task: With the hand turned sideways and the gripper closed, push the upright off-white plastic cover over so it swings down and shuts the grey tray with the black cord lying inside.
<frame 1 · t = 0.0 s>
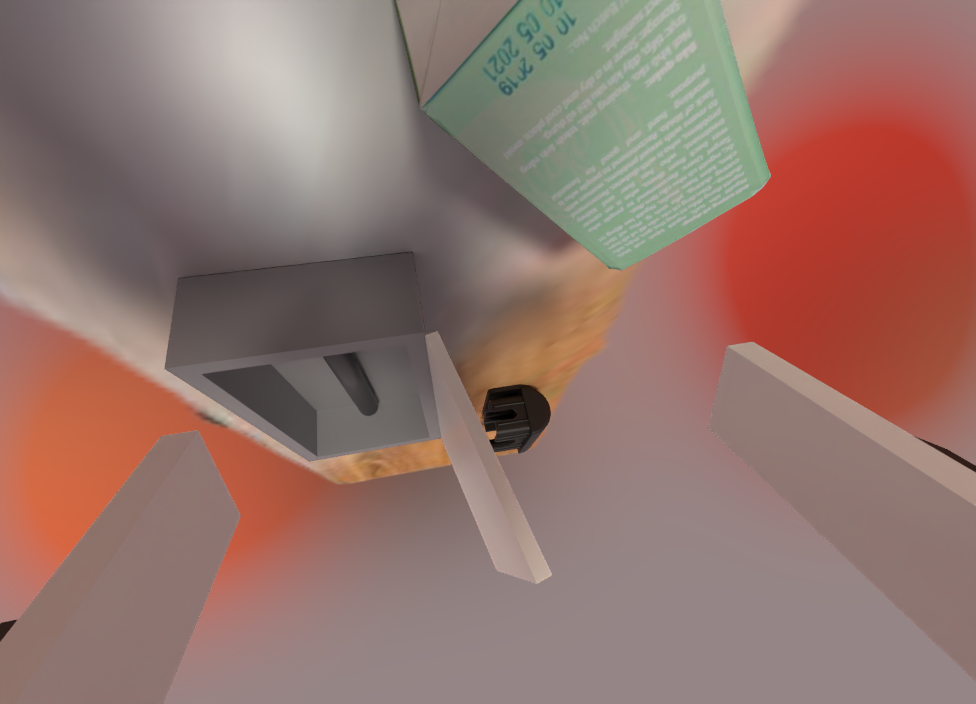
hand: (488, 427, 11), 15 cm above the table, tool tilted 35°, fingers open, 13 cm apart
cover: (474, 480, 33), point 13 cm above the table, hinge at 104.0°
grey tray: (346, 350, 37), on the table
box: (571, 36, 18), on the table
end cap: (509, 395, 57), on the table
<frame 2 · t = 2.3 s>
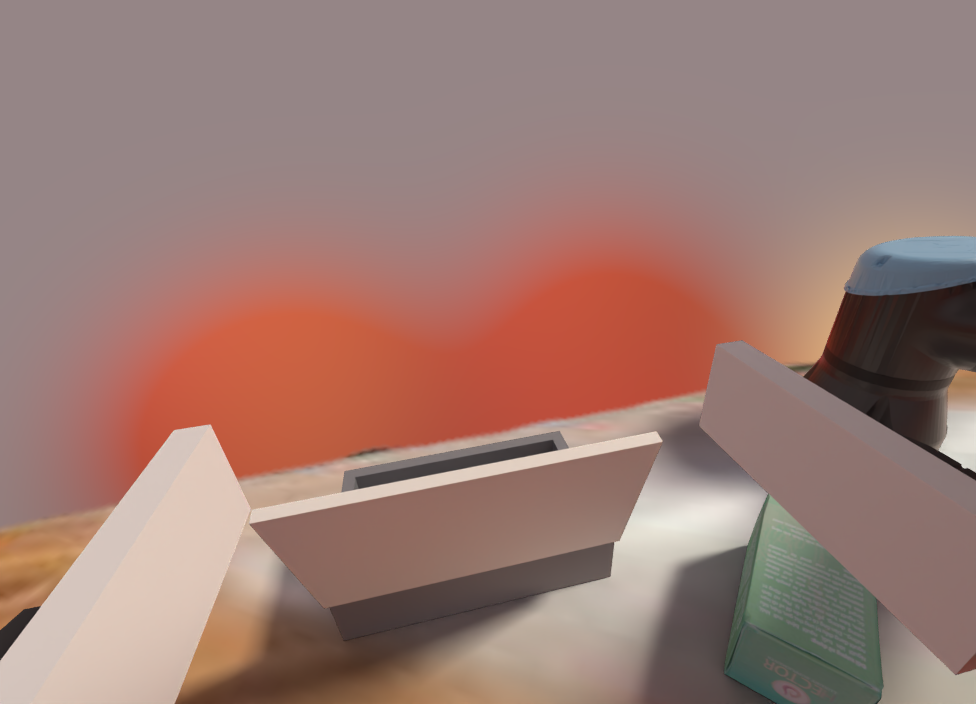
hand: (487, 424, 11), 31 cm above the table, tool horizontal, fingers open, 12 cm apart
cover: (474, 528, 29), point 13 cm above the table, hinge at 104.0°
grey tray: (470, 539, 43), on the table
box: (785, 629, 34), on the table
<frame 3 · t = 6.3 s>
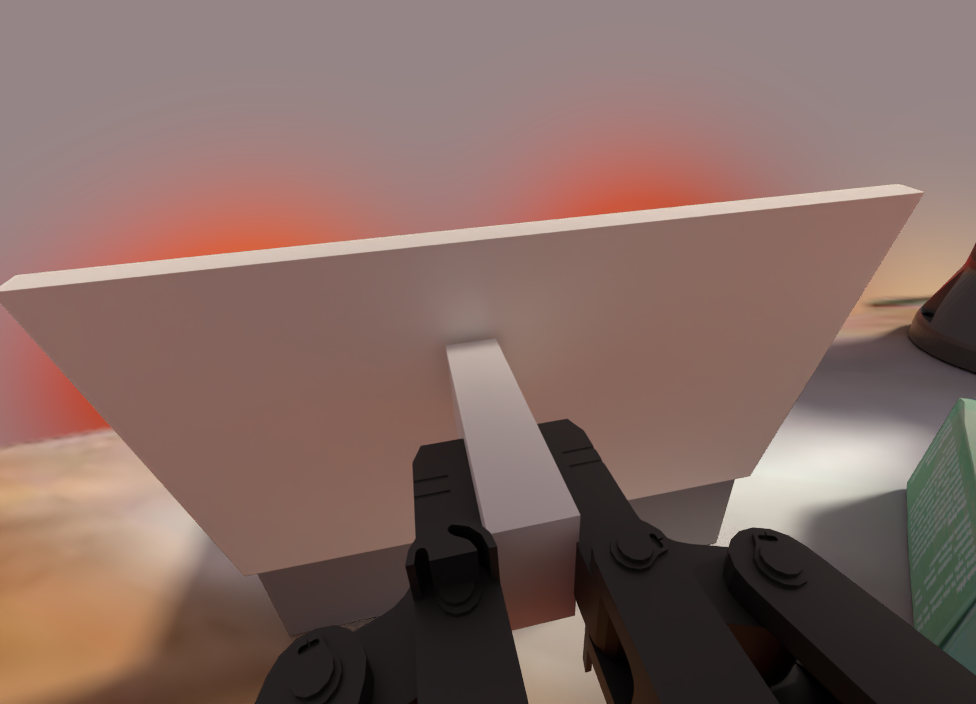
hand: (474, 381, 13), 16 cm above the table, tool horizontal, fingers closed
cover: (517, 412, 15), point 13 cm above the table, hinge at 100.7°, touching gripper
grey tray: (493, 491, 29), on the table
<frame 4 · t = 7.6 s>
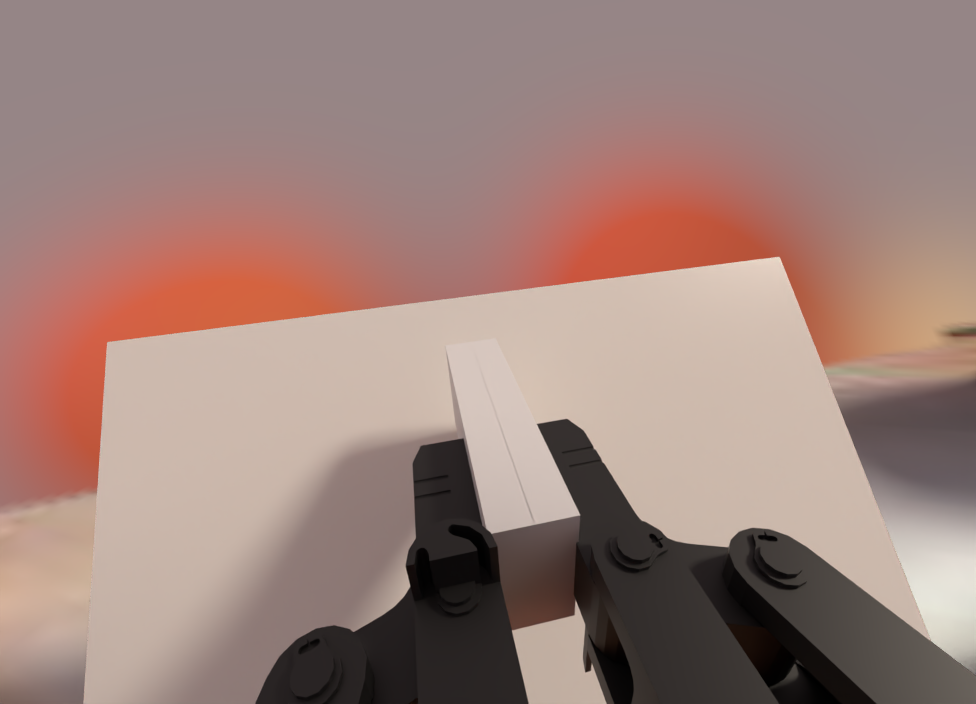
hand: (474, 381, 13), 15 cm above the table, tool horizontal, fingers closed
cover: (513, 499, 13), point 12 cm above the table, hinge at 46.4°, touching gripper
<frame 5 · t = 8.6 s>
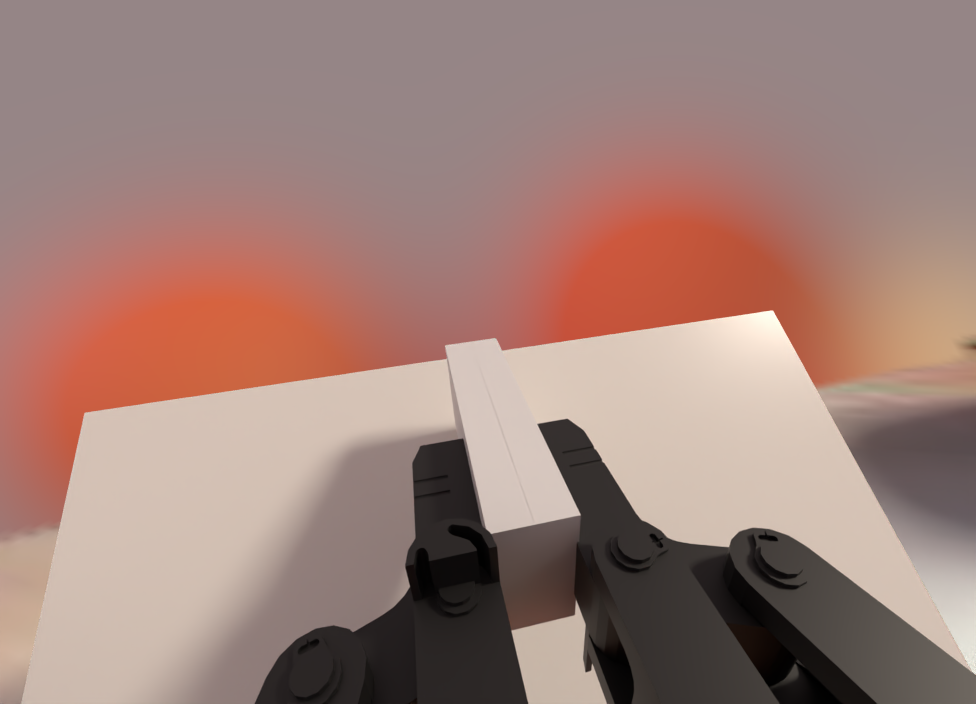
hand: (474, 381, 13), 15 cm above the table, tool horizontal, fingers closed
cover: (507, 579, 12), point 11 cm above the table, hinge at 36.9°, touching gripper
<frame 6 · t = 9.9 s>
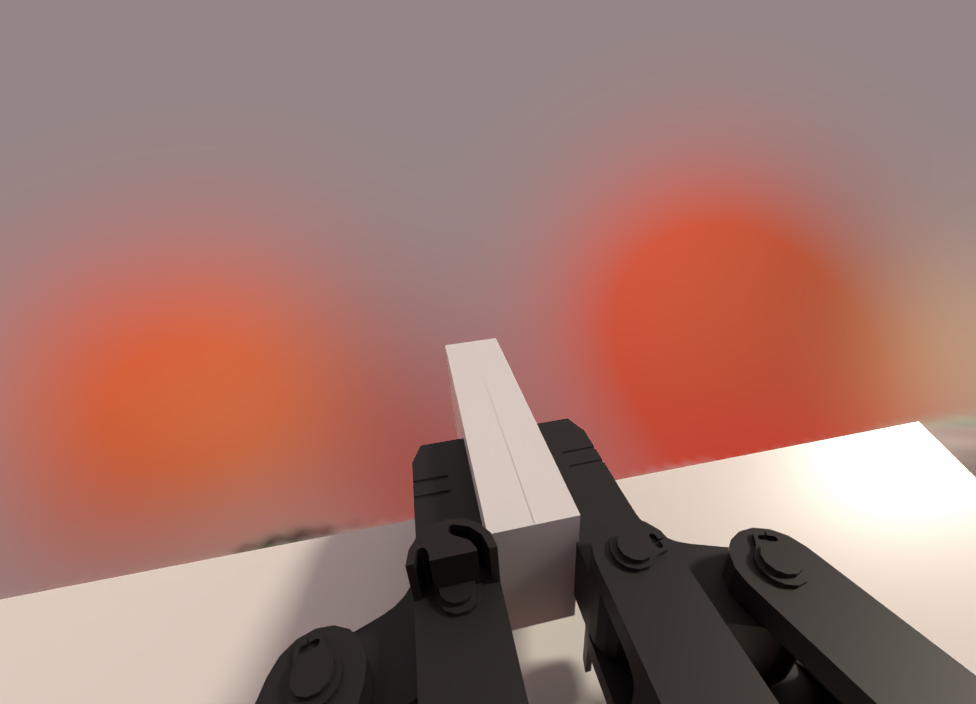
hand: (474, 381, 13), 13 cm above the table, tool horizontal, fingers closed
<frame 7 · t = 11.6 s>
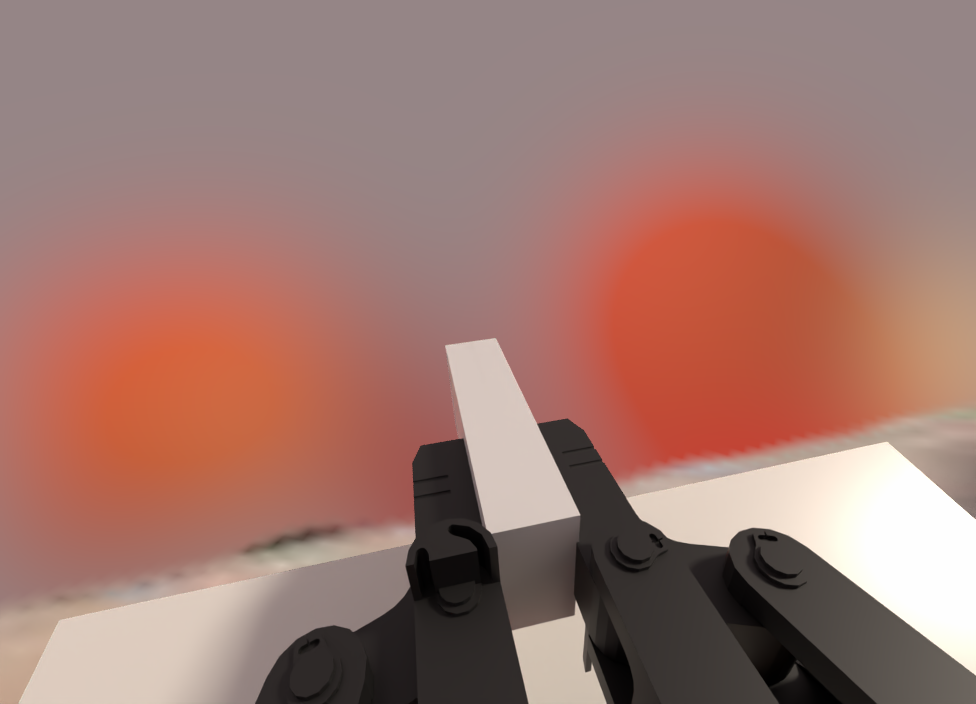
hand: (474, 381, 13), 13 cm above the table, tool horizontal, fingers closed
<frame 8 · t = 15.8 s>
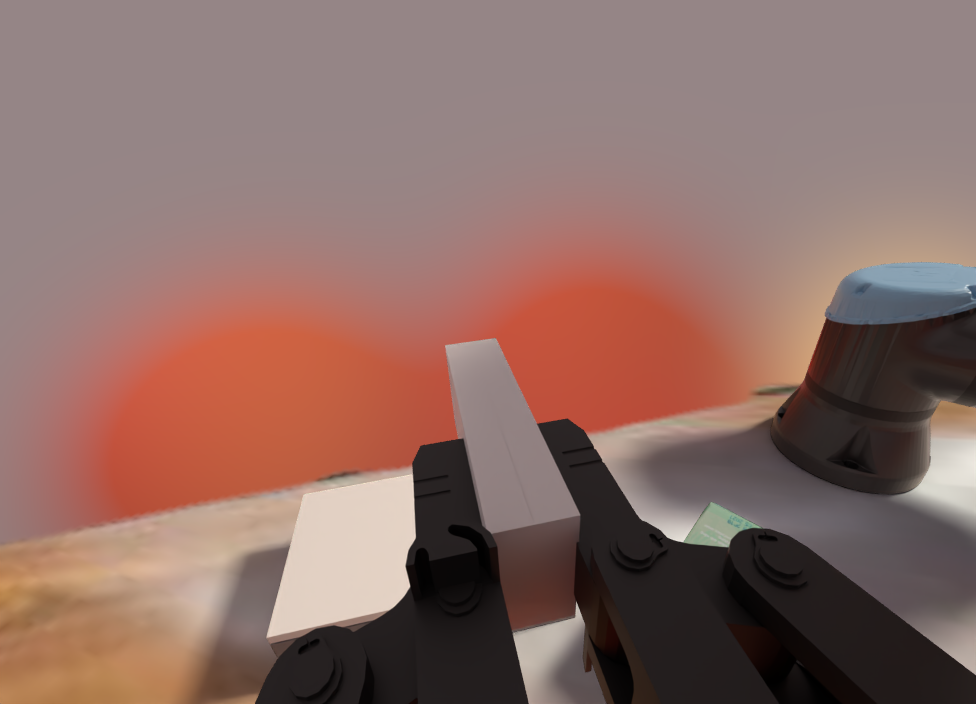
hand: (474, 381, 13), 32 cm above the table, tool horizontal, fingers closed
cover: (425, 529, 38), point 7 cm above the table, hinge at -0.1°
grey tray: (434, 574, 42), on the table
box: (706, 630, 36), on the table
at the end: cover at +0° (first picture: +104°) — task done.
